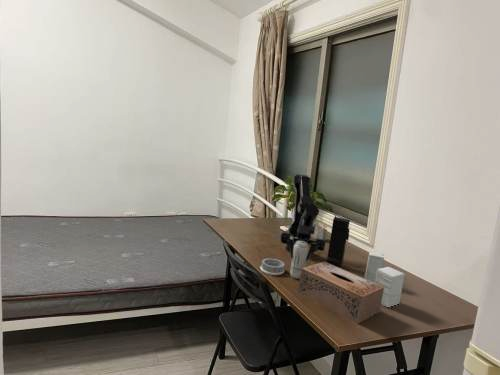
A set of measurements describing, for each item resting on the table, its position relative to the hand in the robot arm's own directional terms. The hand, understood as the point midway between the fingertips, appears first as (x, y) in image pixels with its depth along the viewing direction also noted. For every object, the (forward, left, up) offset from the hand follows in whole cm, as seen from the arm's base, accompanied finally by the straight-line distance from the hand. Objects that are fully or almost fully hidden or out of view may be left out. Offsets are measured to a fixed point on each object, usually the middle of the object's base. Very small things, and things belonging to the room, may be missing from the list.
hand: (299, 259), depth 150 cm
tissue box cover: (-7, +21, -9) cm, 24 cm away
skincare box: (-34, +5, -8) cm, 35 cm away
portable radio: (-26, -12, -8) cm, 30 cm away
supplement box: (-27, +23, -8) cm, 36 cm away
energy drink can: (-1, -1, -8) cm, 8 cm away
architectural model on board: (-37, -51, -9) cm, 63 cm away
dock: (+8, -8, -8) cm, 14 cm away
